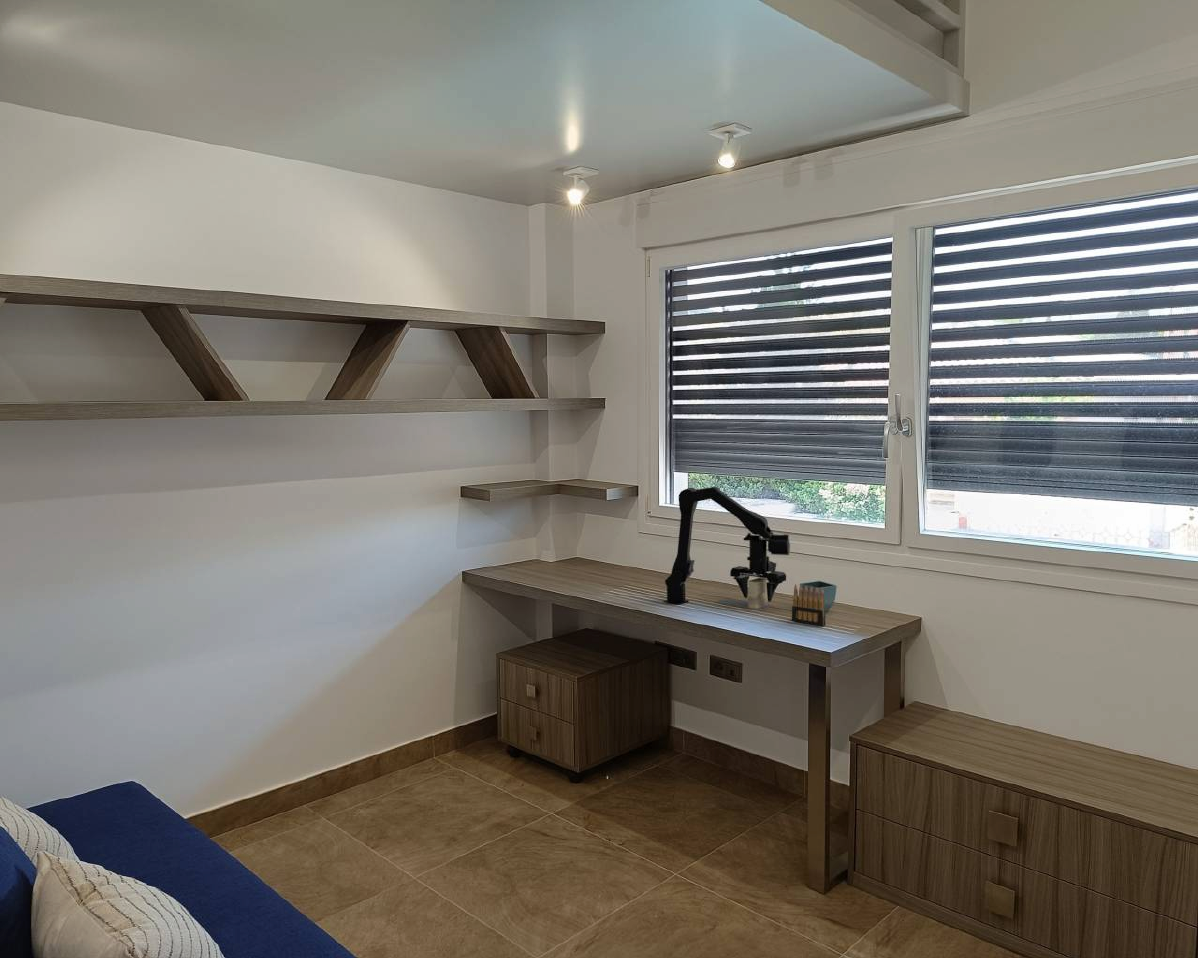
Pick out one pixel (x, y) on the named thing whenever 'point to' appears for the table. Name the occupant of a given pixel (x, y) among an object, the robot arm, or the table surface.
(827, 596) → the flower pot
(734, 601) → the mat
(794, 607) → the ammunition clip
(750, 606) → the slab
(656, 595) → the table surface
